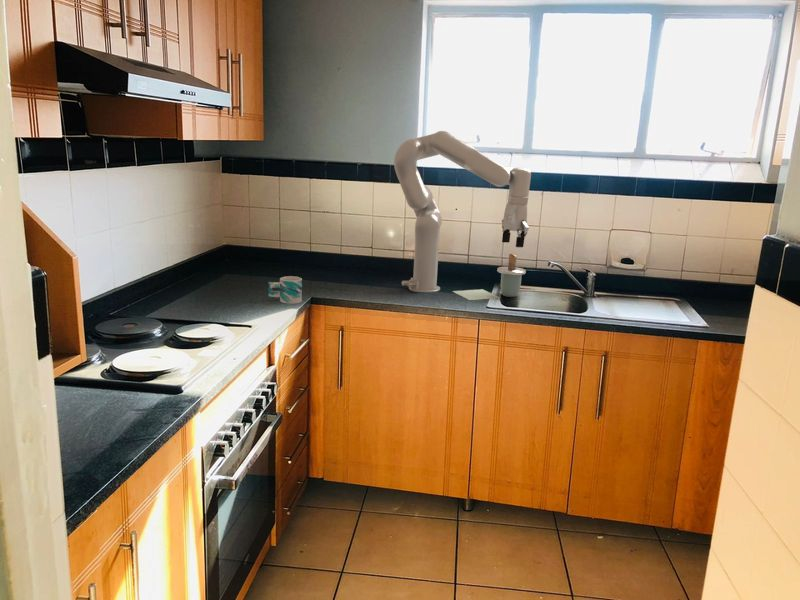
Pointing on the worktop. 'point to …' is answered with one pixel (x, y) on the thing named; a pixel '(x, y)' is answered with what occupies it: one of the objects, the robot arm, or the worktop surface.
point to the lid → (512, 267)
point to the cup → (510, 285)
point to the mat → (476, 294)
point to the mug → (287, 289)
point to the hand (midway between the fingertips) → (512, 244)
